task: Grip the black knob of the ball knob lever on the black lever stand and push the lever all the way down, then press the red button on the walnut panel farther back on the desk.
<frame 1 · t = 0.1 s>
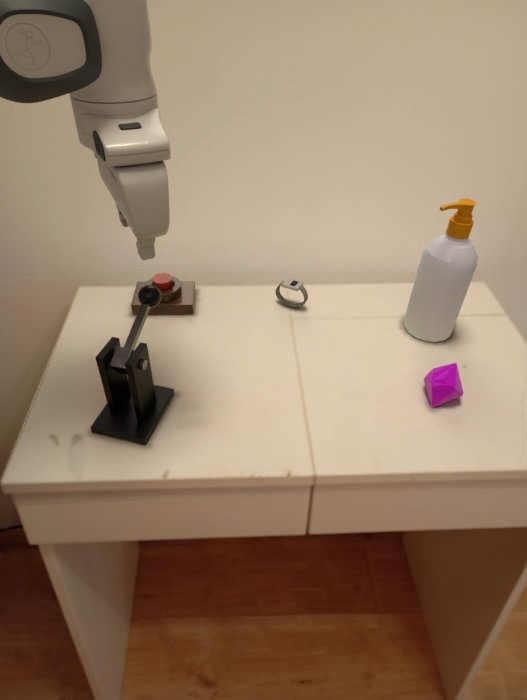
hand: (137, 239, 60), 23 cm above the table, tool pointing down, fingers open, 8 cm apart
crystal: (439, 396, 72), on the table
wristwatch: (290, 306, 90), on the table
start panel: (165, 302, 89), on the table
black lever stand: (135, 412, 68), on the table
start button: (162, 282, 86), point 4 cm above the table, slide at 0.1 cm
soap bottle: (425, 329, 85), on the table
ball knob lever: (137, 326, 63), point 12 cm above the table, hinge at 25.0°
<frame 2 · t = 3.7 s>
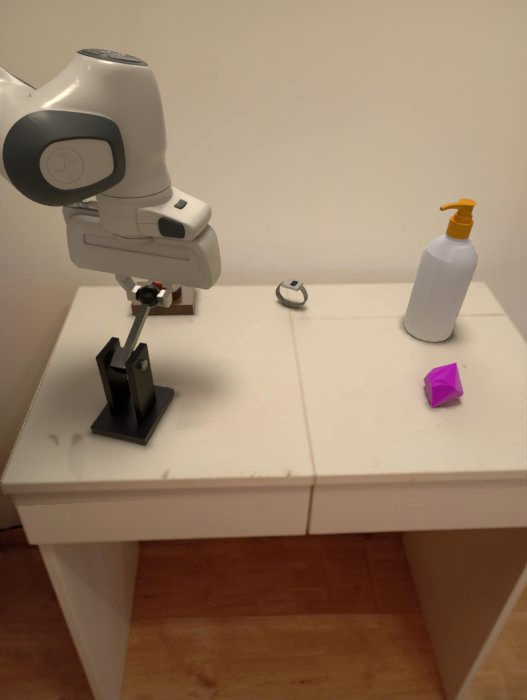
hand: (150, 301, 66), 13 cm above the table, tool pointing down, fingers closed on ball knob lever, 3 cm apart
ball knob lever: (137, 326, 63), point 12 cm above the table, hinge at 25.0°, touching gripper
everything else where it was.
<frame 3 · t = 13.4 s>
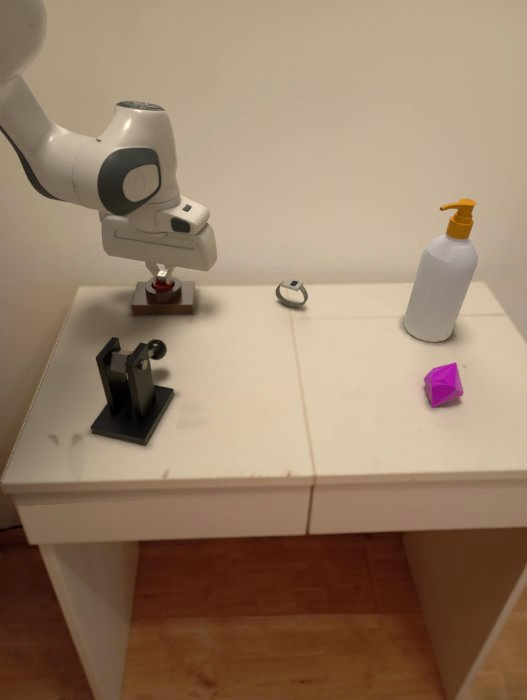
hand: (163, 282, 86), 4 cm above the table, tool pointing down, fingers closed, pressing on start button
start button: (163, 286, 87), point 4 cm above the table, slide at -0.8 cm, touching gripper
ball knob lever: (141, 354, 66), point 7 cm above the table, hinge at -30.6°
everything else where it was.
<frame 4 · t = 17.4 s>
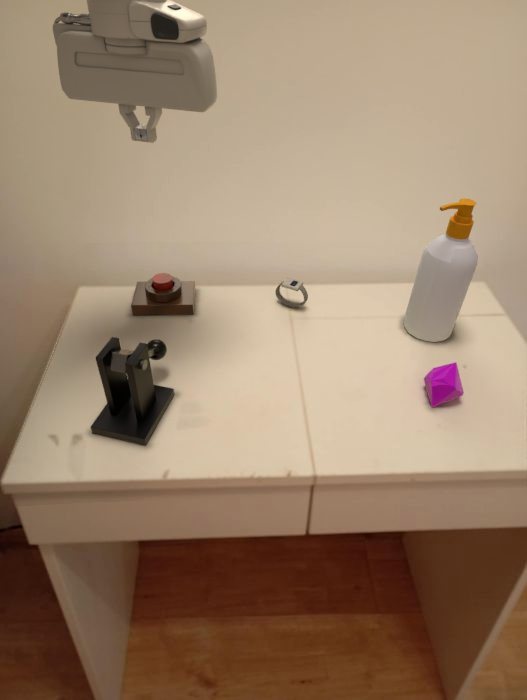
hand: (144, 140, 64), 31 cm above the table, tool pointing down, fingers closed
start button: (162, 282, 86), point 4 cm above the table, slide at 0.1 cm
everything else where it was.
at the end: ball knob lever at -31° (first picture: +25°); start button pushed in 1.0 cm at the most during the clip, back to where it started at the end; start button slide at 0.1 cm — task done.
